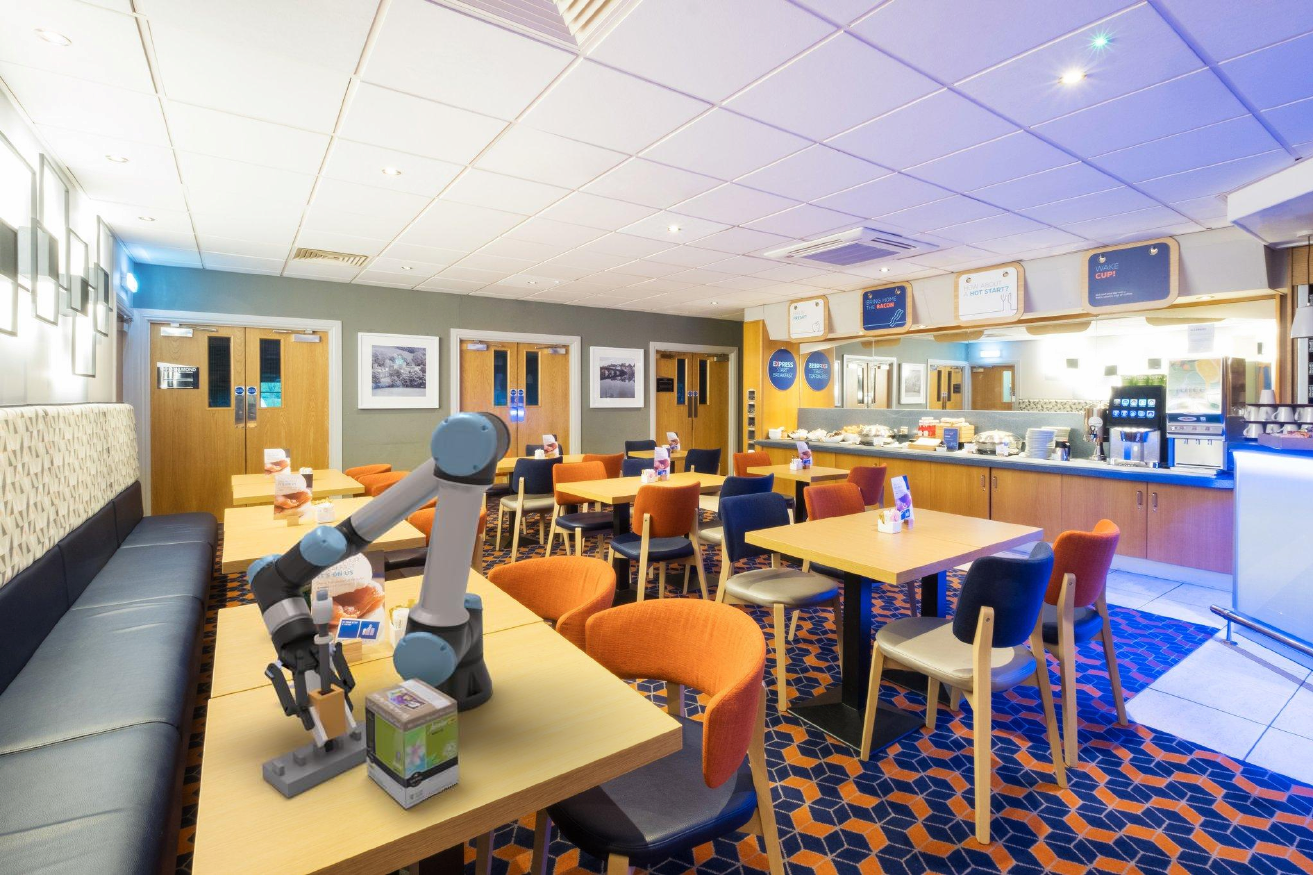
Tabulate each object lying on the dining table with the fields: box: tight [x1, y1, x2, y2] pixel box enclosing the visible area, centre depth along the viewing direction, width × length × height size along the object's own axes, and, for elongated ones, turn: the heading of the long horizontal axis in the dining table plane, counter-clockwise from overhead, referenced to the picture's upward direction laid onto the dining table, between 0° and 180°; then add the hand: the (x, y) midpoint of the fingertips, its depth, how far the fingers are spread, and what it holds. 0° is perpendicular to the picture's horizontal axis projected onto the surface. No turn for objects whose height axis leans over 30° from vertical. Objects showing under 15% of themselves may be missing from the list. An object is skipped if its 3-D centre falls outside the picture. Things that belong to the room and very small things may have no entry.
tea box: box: [364, 678, 459, 810], centre depth 107 cm, size 15×10×15 cm, turn 48°
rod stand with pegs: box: [261, 589, 367, 799], centre depth 111 cm, size 18×10×32 cm, turn 144°
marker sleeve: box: [308, 684, 346, 741], centre depth 112 cm, size 4×4×8 cm
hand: (337, 736), depth 109 cm, fingers closed on marker sleeve, 4 cm apart
